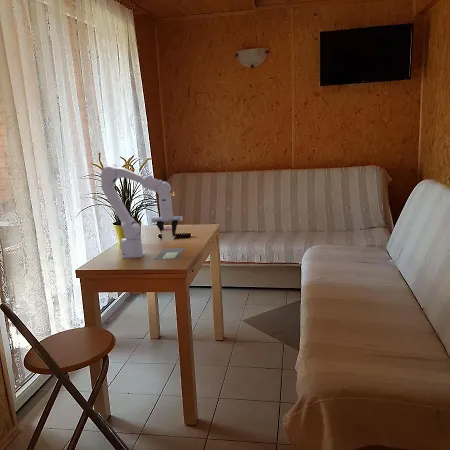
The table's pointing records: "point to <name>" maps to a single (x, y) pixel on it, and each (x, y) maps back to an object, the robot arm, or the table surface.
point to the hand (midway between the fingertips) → (168, 236)
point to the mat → (169, 254)
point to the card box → (167, 234)
